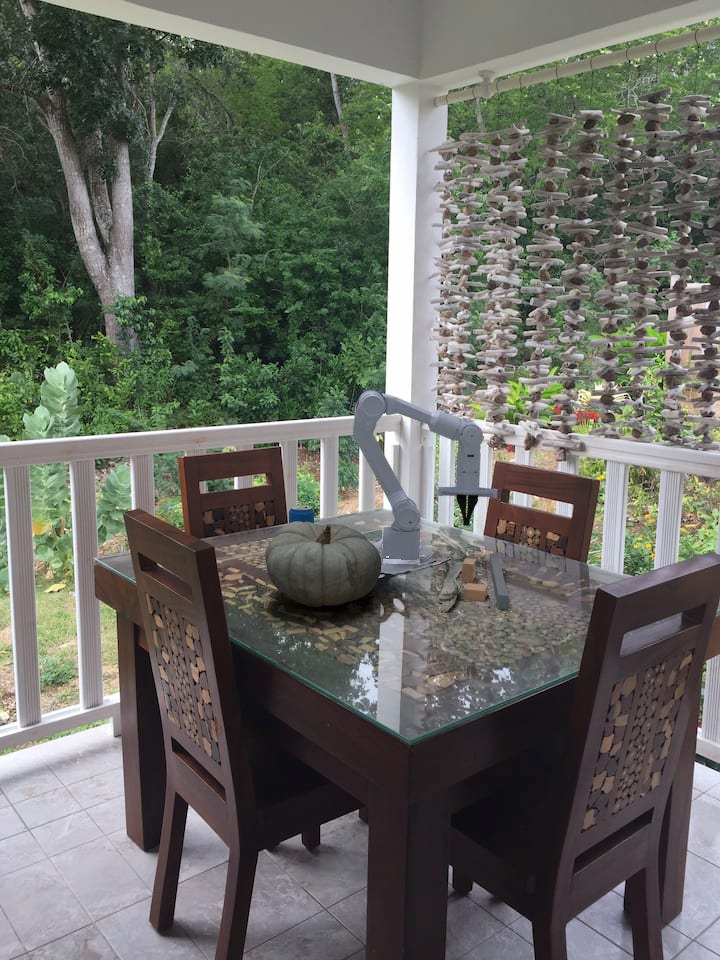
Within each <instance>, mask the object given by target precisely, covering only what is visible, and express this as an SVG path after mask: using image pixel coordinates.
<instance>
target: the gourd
mask: <svg viewBox="0 0 720 960" xmlns="http://www.w3.org/2000/svg"><path fill="white" fill-rule="evenodd" d="M264 560H265V564H266V571H267V576H268V577H269V579H270V581H271V583H272V584H273V585H274V587H276V589H277V590H278V591H279V592H281V593H283V595H285V596H287V597H289V598H290V599H292V600H293V601H295V602H296V603H299V604H300V605H304V606H306V607H314V608H320V607H323V606H326V607H327V606H328V607H330V606H335V607H336V606H339V605H342V604H345V603H351V602H353V601H355V600H359V599H362V598H364V596H366V595H368V594H369V593H370V592H371V591H373V589H374V588H375V586H376V584H377V583H378V580H379V578H380V576H381V572H382V565H383V564H382V556H381V555H380V551H379V550H378V548H377V547H376V546H375V545H374V544H373V543H372V542H371V541H370V540H369V539H368V538H367V537H366V536H365V535H364V534H363V533H361V532H360V531H358V530H357V529H354V528H353V527H349V526H347V525H343V524H336V523H326V524H323V525H322V524H318V523H315V522H314V523H311V522H299V521H296V522H291V523H289V522H288V523H286V524H284V525H282V526H281V527H280V528H279V530H278V531H277V532H276V533H275V535H274V537H273V538H272V539H271V540H270V542H269V543H268V545H267V547H266V550H265V559H264Z"/></svg>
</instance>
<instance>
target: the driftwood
mask: <svg viewBox="0 0 720 960" xmlns="http://www.w3.org/2000/svg"><path fill="white" fill-rule="evenodd" d="M451 559H452V562H451V561H446V562H445V564H444V565H443V566H445V568H446V569H443V570H442V575H441V576H442V580H443V587H442V589H441V591H440V593H439V594H438V597H437V602H438V603H440V604H441V605H440V606H439V608H438V612H440V613H441V612H442V613H445V612H448V611H449V610H450V608H452V607H453V606H454V605H455V603H456V599H457V597H458V594H459V593H460V592H461V590H462V588H461V586H460V584H459V582H457V578H458V576H459V575H460V572H462V564H463V562H464V561H462V560H460V561H458V560H454V558H453V557H451Z"/></svg>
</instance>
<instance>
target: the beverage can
mask: <svg viewBox="0 0 720 960" xmlns="http://www.w3.org/2000/svg"><path fill="white" fill-rule="evenodd" d="M296 521H299V522H311V523H314V524H315V511H314V509H313V506H312V505H308V504H296V505H295V504H294V505H291V506H290V509H289V511H288V524H289V523H291V522H296Z"/></svg>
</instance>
